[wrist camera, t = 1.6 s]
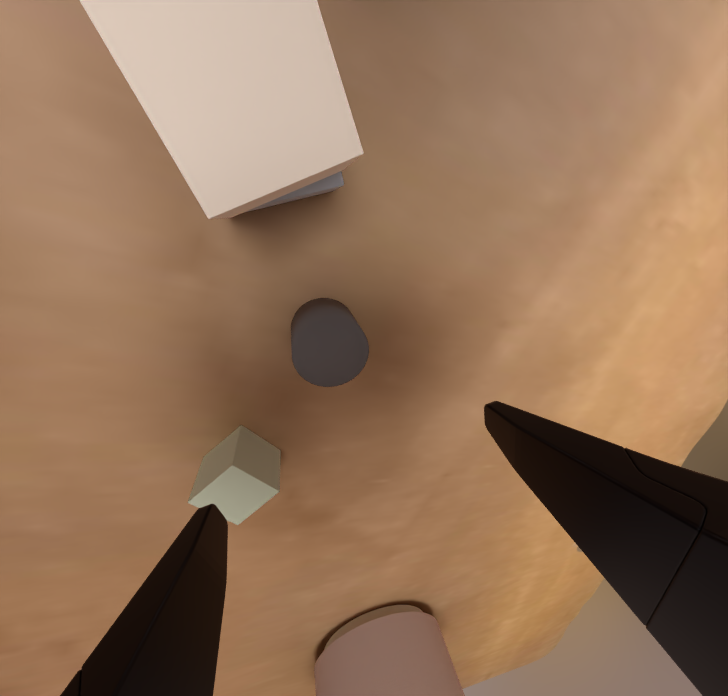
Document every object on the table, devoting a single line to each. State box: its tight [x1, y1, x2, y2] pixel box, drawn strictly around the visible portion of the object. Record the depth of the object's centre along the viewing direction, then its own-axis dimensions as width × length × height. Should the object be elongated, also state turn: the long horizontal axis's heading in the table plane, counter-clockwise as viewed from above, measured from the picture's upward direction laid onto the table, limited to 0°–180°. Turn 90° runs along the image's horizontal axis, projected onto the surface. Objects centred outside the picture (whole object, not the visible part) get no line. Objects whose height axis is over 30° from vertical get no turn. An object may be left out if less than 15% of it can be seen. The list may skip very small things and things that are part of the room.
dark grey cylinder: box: [291, 298, 369, 387], centre depth 18 cm, size 4×4×4 cm
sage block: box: [188, 425, 281, 525], centre depth 21 cm, size 4×4×4 cm
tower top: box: [80, 0, 364, 219], centre depth 10 cm, size 5×5×4 cm
